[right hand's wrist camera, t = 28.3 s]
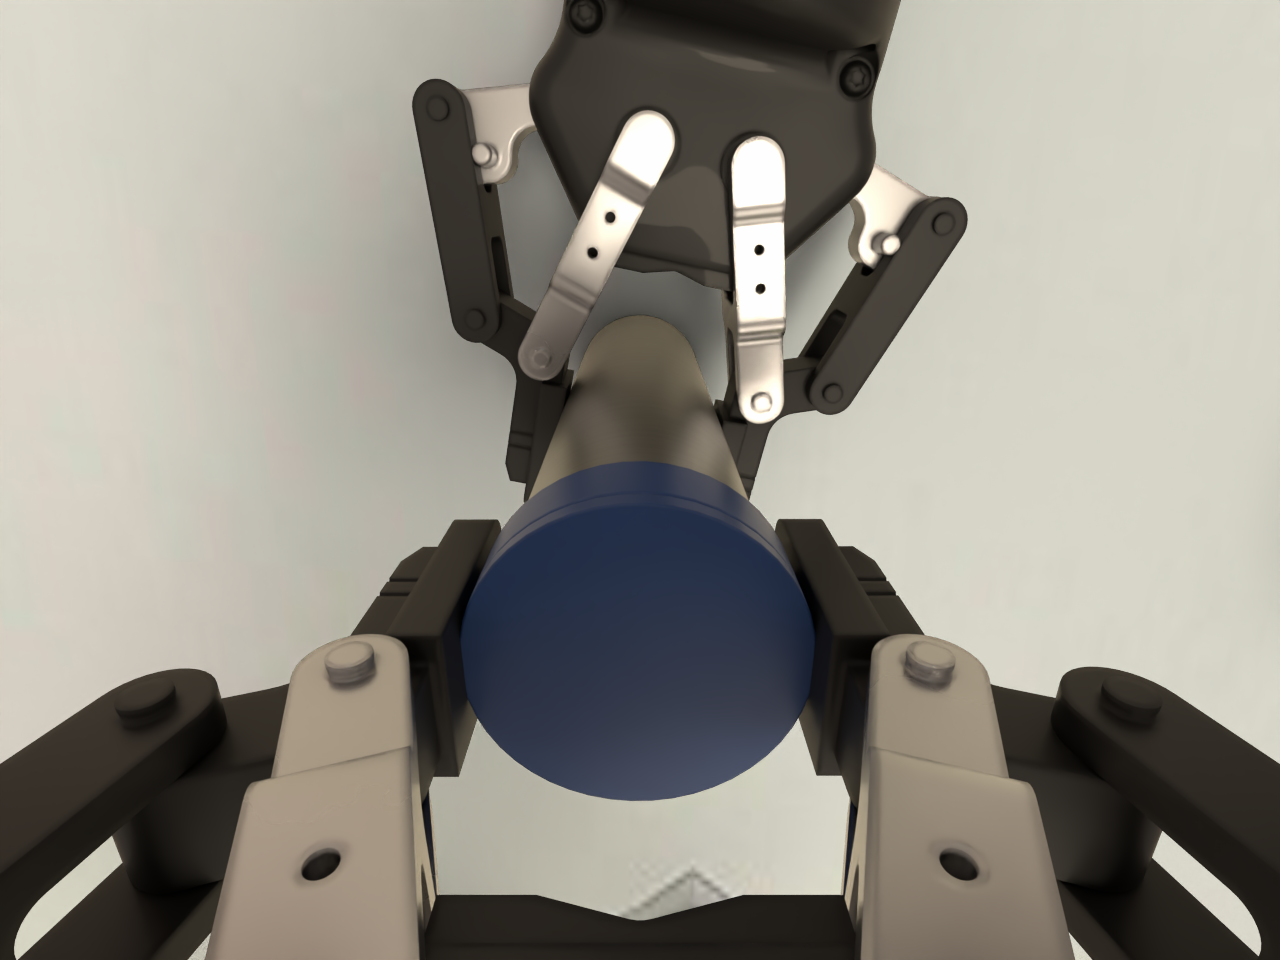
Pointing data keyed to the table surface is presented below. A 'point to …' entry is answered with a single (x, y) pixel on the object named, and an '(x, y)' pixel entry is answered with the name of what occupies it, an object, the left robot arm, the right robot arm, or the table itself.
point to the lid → (637, 634)
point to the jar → (639, 407)
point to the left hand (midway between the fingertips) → (622, 508)
